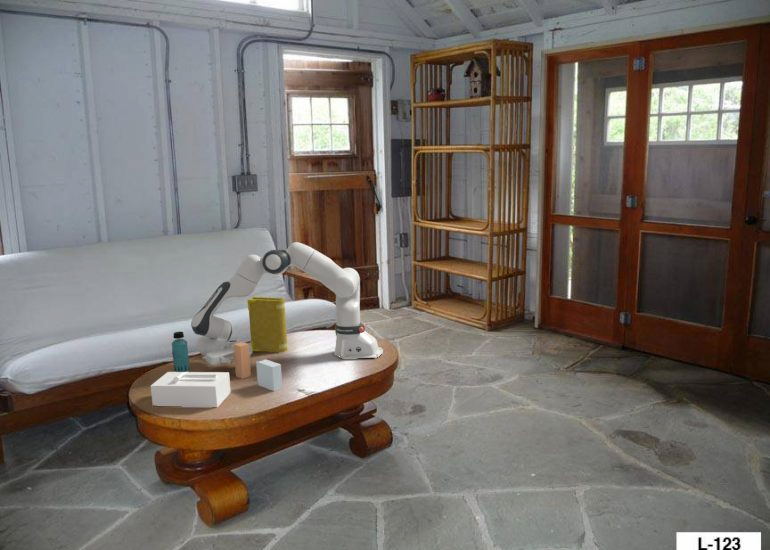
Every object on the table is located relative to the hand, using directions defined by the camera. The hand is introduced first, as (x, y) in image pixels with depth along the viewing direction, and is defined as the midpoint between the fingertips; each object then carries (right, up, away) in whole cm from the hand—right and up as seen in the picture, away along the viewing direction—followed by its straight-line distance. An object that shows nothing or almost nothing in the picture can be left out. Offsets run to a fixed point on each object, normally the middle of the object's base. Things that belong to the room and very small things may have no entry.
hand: (239, 358), depth 258 cm
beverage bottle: (-24, -9, +1) cm, 26 cm away
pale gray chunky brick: (+15, -10, -12) cm, 21 cm away
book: (+7, -1, +35) cm, 35 cm away
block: (+1, -8, +1) cm, 8 cm away
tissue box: (-13, -13, -22) cm, 29 cm away
